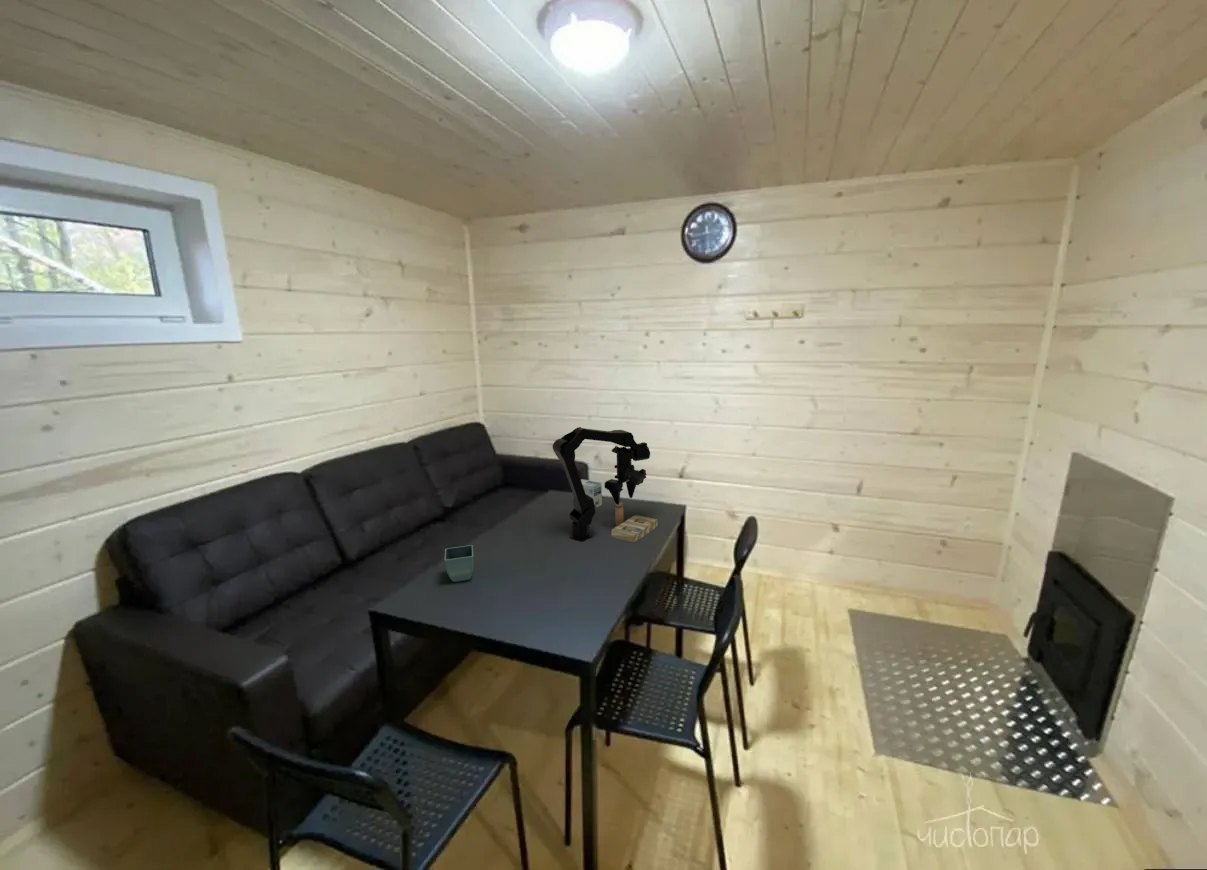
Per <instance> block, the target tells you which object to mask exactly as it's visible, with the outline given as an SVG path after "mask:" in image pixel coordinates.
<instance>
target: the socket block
mask: <svg viewBox="0 0 1207 870" xmlns="http://www.w3.org/2000/svg"><path fill="white" fill-rule="evenodd" d="M658 523H659V521H658V519H657V518H651V517H647V516H643V515H638V514H635V515H633V516H632V517H629V518H628V519H627V520H624V522H623V523H622V524H620V525H618V526H615V527H613V528H612V529H611V538H614V539H617V540H622V541H625V542H630V543H634V544H635V543H636V542H638V541H639V540H640V539H643V537H646V535H648V534H649V533H651V532H652V531H653V530H655V529H656V528H657V527H658Z"/></svg>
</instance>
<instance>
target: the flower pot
mask: <svg viewBox="0 0 1207 870" xmlns="http://www.w3.org/2000/svg"><path fill="white" fill-rule="evenodd" d="M443 558H444V565H445V568H446V573H447V575H448V577H449V579H450V580H451V581H452V582H453V583H457V582H463V581H464V582H465V581H468V580H471V577H472V575H473V572H474V545H473V544H471V545H469V544H468V545H463V546H456V547H447V548H445V549H444V557H443Z"/></svg>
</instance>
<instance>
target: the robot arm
mask: <svg viewBox="0 0 1207 870" xmlns="http://www.w3.org/2000/svg"><path fill="white" fill-rule="evenodd" d="M585 440H588V441H589V440H591V441H599V442H609V443H611V444H612V443H613V444H616V445H615V446H614V447H613V448H612V449H611V450H610V451H611V452H612V453H614V454H616V464H615V465H614V469H616V474H615V475H614V479H613V478H610V479H608V480H606V481H605V482H604V483H603V484H604V489H605V490H607V491H609V493H610V495H611V496H612V498H613V501H614V502H615V503H616V504H617V505H619V502H621V501H620V500H621V499H620V498H621V492H622V491H623V490H624V489H623V487H624V484H625V485H626V489H627V494H628V496H629V498H630V499H632V498H633V496H634V493H635V490H636V487H637V486H640V485H641V484H643V483H644V481H645V480H646V478H647V470H646V469H644V468H642V469H635V465H634V464H632V461H634V462H639V461H645V460H649V459H650V457H651V451H650V448H649V446H648V443H647V442H643V441H642V442H640V443H639V442H638V443H637V441H636V440H635V437H634V435H633V433H632V432H630V431H626V430H624V429H613V430H599V429H592V428H585V427H581V426H577V427H576V428H574V429H572V430H571V431H570V432H568V433H567V434H564V435H562V437H561V438H558V439H555V440H554V443H553V444H552V450H553V452H554V455H555V456H556V457H557V459H558V460H559V461H560V463H561V464H562V466H563V469H564V472H565V475H566V478H567V480H568V484H569V486H570V487H569V488H570V489H571V491H572V495H573V507H574V508H572V510H571V511H570V512H569V514H568V516H569V519H570V520H571V521H572V523H571V527H572V528H571V529H572V535H570V536H569V539H572V540H575V541H580V542H584V541H587V539H589V538H591V537H592V536H593V533H590V525H591V524H592V521H593V517H594V516H595V514H596V509H597V508H596V506H595V505H594V500H593V498H591V497H590V496H588V495H587V494H585V491H584V488H583V485H582V482H581V480H582V479H581V477H580V473H579V470H578V468H577V465H576V450H577V449H578V448H579V447H580V446H581V444H582V443H583V441H585ZM617 445H619V446H620V447H619V446H617Z"/></svg>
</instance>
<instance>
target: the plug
mask: <svg viewBox="0 0 1207 870" xmlns="http://www.w3.org/2000/svg"><path fill="white" fill-rule="evenodd" d="M624 507H625V506H624V502H622V501H620V502H619V505H617V504H616V503H615V504H614V509H615V511H614V512H615V513H614V514H615V527H617V526H618V525H620V524H622V523H623V522H625V520H624V519H625V518H624Z"/></svg>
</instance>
